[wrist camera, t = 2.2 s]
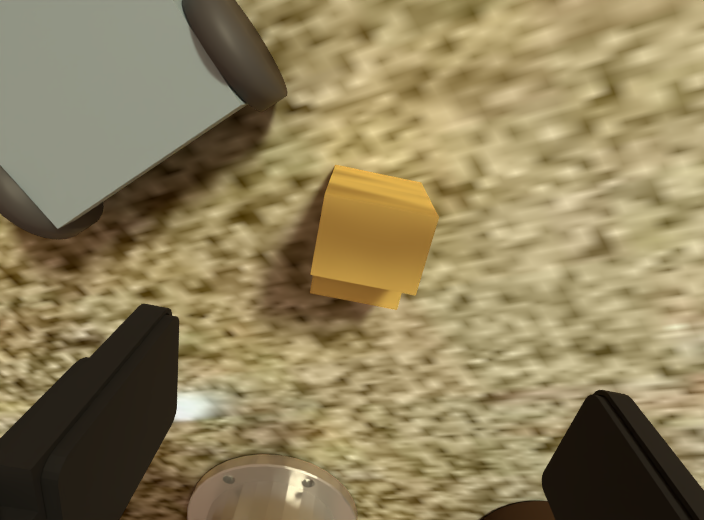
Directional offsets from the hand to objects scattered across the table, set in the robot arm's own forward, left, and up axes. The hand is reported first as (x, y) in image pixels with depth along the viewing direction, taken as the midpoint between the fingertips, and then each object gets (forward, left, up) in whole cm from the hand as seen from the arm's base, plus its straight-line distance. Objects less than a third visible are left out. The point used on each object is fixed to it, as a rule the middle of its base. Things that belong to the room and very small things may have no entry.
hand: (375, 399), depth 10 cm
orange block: (-1, 0, -14) cm, 14 cm away
